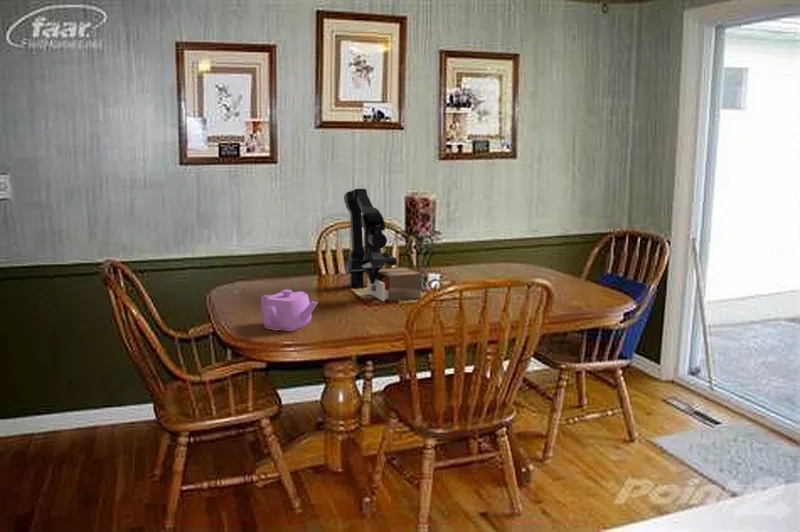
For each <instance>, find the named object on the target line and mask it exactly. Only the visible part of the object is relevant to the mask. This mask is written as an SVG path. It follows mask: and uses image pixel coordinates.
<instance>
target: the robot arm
mask: <svg viewBox="0 0 800 532" xmlns="http://www.w3.org/2000/svg"><path fill="white" fill-rule="evenodd" d="M343 201H344V204H345V208H346V209H347V211H348V212H349V215H350V217H349V218H350V232H351V234H350V237H351V250H350V251H349V253H348V256H347V257H348V259H347V261H346V265H345V272H346V273H348V274H349V275H350V276H349V277H350V278H349V279H350V280H349V281H350V283H347V287H350V288H351V289H360V288H368V285H366V284H365V273H366V275H367V279H368V278H369V281H370V283H371V284H374V281H375V278H376V276H377V273H378V271H379V270H380V269H384V266H385V264H387V265H388V266H397V264H398V260H397V258H396V257H394V256H392V255H390V253H389V252H383V253H382V249H383V248H384V247H385V246H386V245H387V243H388V239H387V236H386V235H385V234H384V233H383V232H382V231H386V223H385V220H384V217H383V215H382V213H381V212H380V210H379V209H378V208H377V207H374V206H373V204H372V202H371V199H370V198H369V196H368V190H367V189H366V188H355V189H353V190H349V191H347V192H346V193H345V194H344V196H343ZM363 231H364V238H363ZM363 240H364V241H363Z"/></svg>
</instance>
